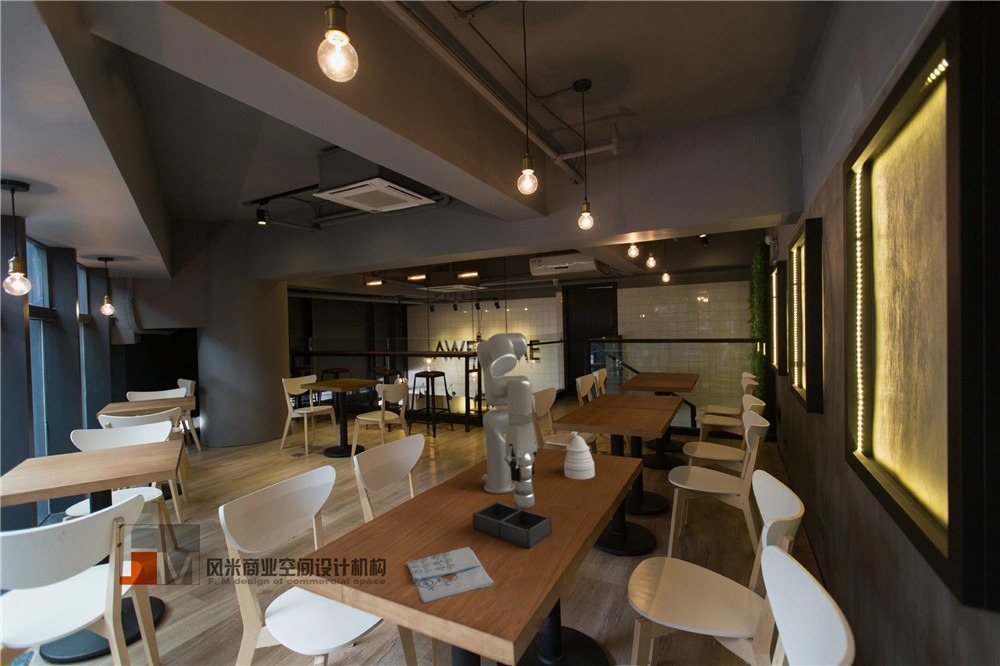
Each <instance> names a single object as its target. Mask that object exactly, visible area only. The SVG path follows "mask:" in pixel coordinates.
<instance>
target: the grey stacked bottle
mask: <svg viewBox="0 0 1000 666" xmlns="http://www.w3.org/2000/svg"><path fill="white" fill-rule="evenodd" d="M514 457H516V456H515V455H514ZM514 462H515V463H516V459H514ZM532 463H533V459H532V457H531V455H530V454H526V455H525V456H524V457H522V458H520V462H519V467H518V468H520V479H521V480H520V481H519V482H518V481H514V483H515V489H514V493H513V502H514V507H516V508H518V509H521V510H526V511H528V510H530V509H532V508H533V507H534V505H535V499H536V498H535V493H534V489H533V475H532Z"/></svg>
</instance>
